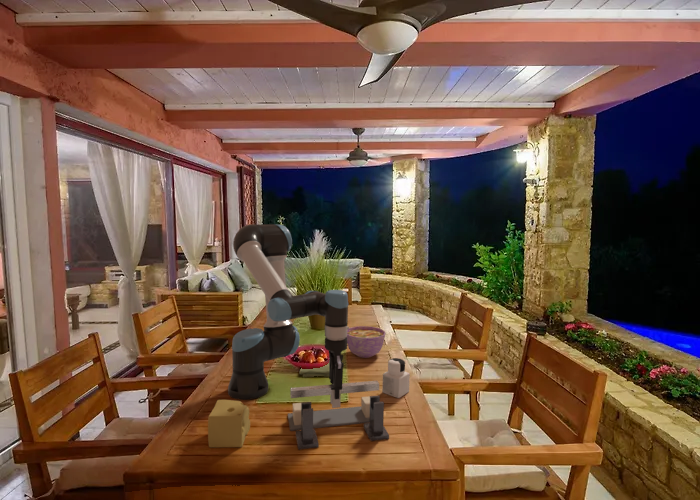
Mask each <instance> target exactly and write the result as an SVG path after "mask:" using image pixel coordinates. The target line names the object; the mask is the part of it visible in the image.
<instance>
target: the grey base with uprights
mask: <svg viewBox="0 0 700 500" xmlns="http://www.w3.org/2000/svg"><path fill="white" fill-rule="evenodd" d="M360 399H361V406H352V407H338V408H331V409H321V410H313V429H318V428H319V429H320V428H321V429H322V428H329V427H338V426H349V425H357V424H365V423H369V416H370V396H361V398H360ZM301 403H302V402H295V403H294V402H293V403H292V413H290V412H289V413H287V419H288V427H289V431H291V432H294V431H301Z"/></svg>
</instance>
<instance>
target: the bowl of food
mask: <svg viewBox="0 0 700 500" xmlns="http://www.w3.org/2000/svg"><path fill="white" fill-rule="evenodd" d="M386 333H387V332H386V331H385V330H384V329H382V328H380V327H375V326H366V325H364V326H363V325H359V326H353V327H349V329H348V330H347V348H348V350H349V351H350V352H351V353H352V354H354V355H356V356H357V357H359V358H365V359H367V358H372V357H373V356H375V355H377V354H379V353H380V351H381V350H382V349H383V345H384V341H385V338H386Z"/></svg>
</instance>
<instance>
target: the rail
mask: <svg viewBox="0 0 700 500" xmlns="http://www.w3.org/2000/svg"><path fill="white" fill-rule="evenodd" d="M332 387H333V384H332V383H330V384H321V385H320V384H319V385H312V386H311V385H310V386H299V387H298V386H297V387H289V388H290V390H289V391H290V393H289V394H290V399H297V398H306V397H307V398H310V397H318V396H330V395H332V390H331V388H332ZM375 391H380V383H379V381H378V380H372V381H371V380H370V381H355V382H346V383H345V382H344V383H343V382H342V390H341V394H351V393H352V394H353V393H363V392H375Z"/></svg>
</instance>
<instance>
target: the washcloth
mask: <svg viewBox="0 0 700 500" xmlns="http://www.w3.org/2000/svg"><path fill="white" fill-rule="evenodd" d="M298 373H299V375H301V376H302V378H311V377H312V378H315V377H314V376H317V377H318V376H324V377H329V363H328V364H327V365H325V366H323V367H320V368H313V369H302V368H301V369H300V368H299V372H298ZM318 378H319V377H318Z"/></svg>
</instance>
